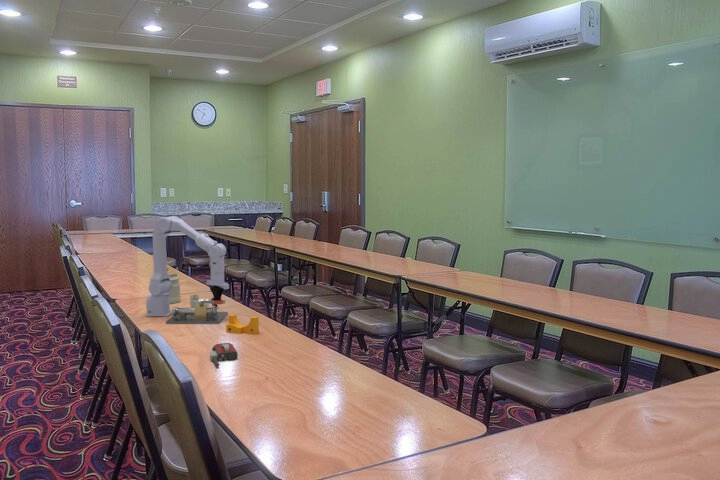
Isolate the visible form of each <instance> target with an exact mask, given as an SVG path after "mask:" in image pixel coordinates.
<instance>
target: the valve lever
mask: <svg viewBox="0 0 720 480" xmlns="http://www.w3.org/2000/svg"><path fill="white" fill-rule="evenodd" d="M207 300H208V299H203V300H202V301H201V303H200V306H203V305H204V304H209V305H210V304H211V305H212V304H213V305H214V304H217V305H224V304H226V300H224V299H221V300H215V301H207Z"/></svg>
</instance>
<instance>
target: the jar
mask: <svg viewBox="0 0 720 480" xmlns="http://www.w3.org/2000/svg"><path fill="white" fill-rule="evenodd" d="M167 273H168V274H169V275H170V280H171V282H172V289H171V290H170V293H169V298H170V305H172V304H176V303H179V302H181V287H180V286H181V283H180V279H181V277H180V276H179V275H178V274H179V272H178V271H176V270H174V269H169V266H167Z"/></svg>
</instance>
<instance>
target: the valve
mask: <svg viewBox="0 0 720 480" xmlns="http://www.w3.org/2000/svg"><path fill="white" fill-rule="evenodd" d="M189 298H190V300H189V305H190V307H189V308H194V307H195V306H196V305H197V304H200V303H201V301H202V300H204V299H203V298H200V296H199V294H191V295H190V296H189ZM206 300H207V301H214V296H212V297H211V298H210V300H209V299H206ZM211 306H212V307H217V308H218V304H211Z"/></svg>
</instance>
